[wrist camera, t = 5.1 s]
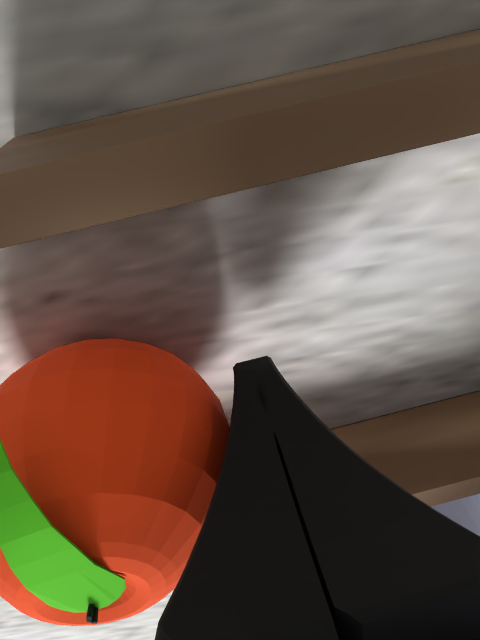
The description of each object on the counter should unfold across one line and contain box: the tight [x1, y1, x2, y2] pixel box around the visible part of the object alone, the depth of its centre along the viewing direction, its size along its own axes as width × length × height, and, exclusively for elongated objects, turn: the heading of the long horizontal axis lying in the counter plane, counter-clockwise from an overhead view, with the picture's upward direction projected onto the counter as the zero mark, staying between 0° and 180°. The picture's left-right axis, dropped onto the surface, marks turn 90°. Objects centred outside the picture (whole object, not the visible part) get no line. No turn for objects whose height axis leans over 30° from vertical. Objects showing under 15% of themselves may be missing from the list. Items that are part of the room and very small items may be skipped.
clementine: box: [0, 338, 230, 626], centre depth 11 cm, size 8×7×7 cm
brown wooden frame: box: [0, 29, 480, 507], centre depth 13 cm, size 14×17×4 cm
